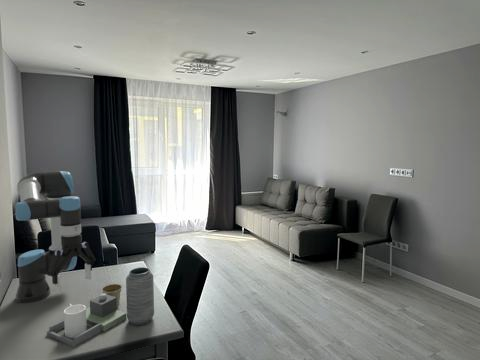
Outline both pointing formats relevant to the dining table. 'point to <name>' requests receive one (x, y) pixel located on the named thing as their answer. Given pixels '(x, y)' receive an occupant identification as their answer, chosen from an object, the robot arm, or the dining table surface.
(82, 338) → the square frame with panel
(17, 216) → the robot arm
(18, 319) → the dining table surface
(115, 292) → the flower pot
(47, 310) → the dining table surface
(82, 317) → the cup
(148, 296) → the vase
